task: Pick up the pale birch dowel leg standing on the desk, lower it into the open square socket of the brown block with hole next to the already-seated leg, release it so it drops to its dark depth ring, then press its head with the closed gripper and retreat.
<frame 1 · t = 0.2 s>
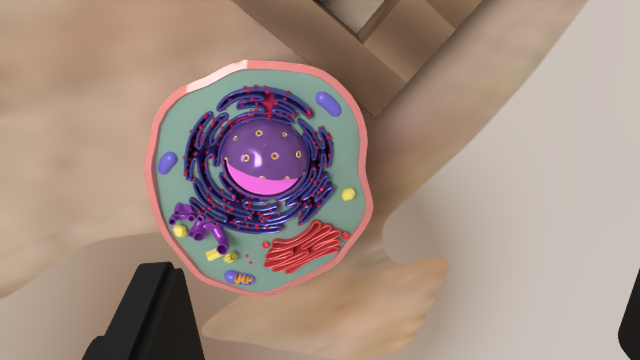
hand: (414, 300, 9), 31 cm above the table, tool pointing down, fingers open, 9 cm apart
cell model: (268, 148, 41), on the table
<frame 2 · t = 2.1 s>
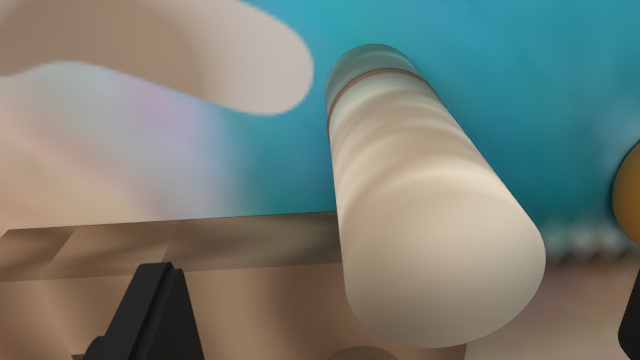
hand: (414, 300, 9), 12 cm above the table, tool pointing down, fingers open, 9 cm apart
birch leg: (371, 91, 20), on the table
brown block with hole: (248, 320, 26), on the table
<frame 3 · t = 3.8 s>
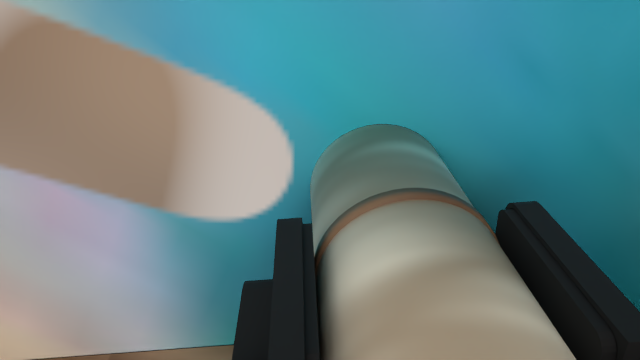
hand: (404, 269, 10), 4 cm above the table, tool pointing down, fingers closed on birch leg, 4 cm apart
birch leg: (377, 187, 14), on the table, touching gripper
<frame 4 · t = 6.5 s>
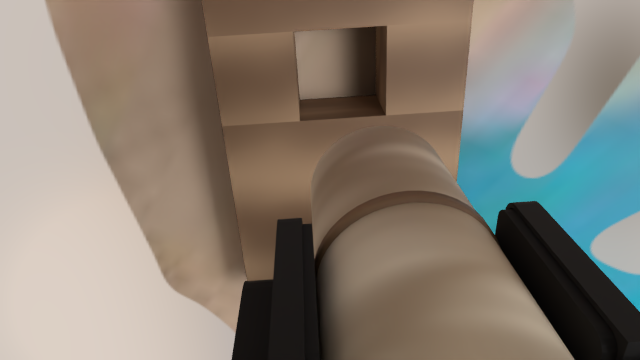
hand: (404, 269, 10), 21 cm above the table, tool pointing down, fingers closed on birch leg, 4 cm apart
birch leg: (377, 189, 14), point 17 cm above the table, touching gripper
brown block with hole: (339, 133, 31), on the table
when the fingers open (5 cm above the table, at t = 9.4 s): birch leg drops 1 cm, resting in brown block with hole.
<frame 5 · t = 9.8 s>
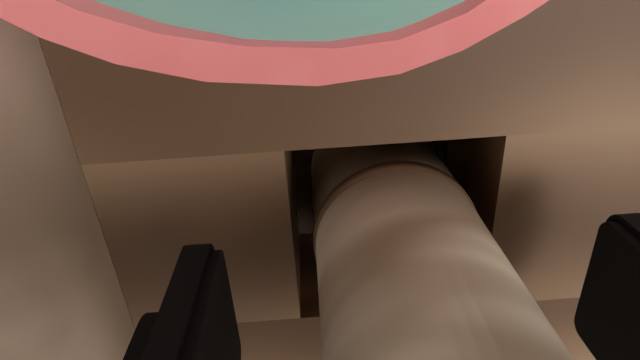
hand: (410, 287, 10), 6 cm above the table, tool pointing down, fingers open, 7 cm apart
birch leg: (372, 168, 15), resting in brown block with hole
brown block with hole: (370, 285, 17), on the table
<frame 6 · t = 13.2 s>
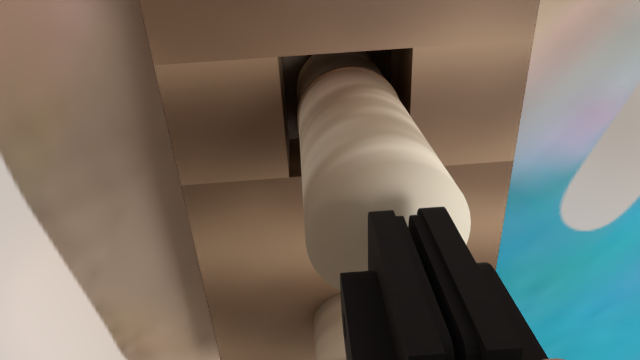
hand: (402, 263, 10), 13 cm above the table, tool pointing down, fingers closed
birch leg: (339, 88, 22), resting in brown block with hole
brown block with hole: (341, 180, 24), on the table
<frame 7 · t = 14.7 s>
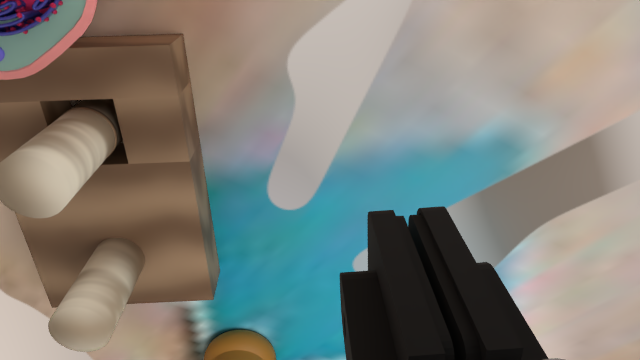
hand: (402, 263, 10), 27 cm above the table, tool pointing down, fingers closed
ornamental finial: (241, 349, 49), on the table
birch leg: (107, 115, 36), resting in brown block with hole
brown block with hole: (120, 171, 39), on the table
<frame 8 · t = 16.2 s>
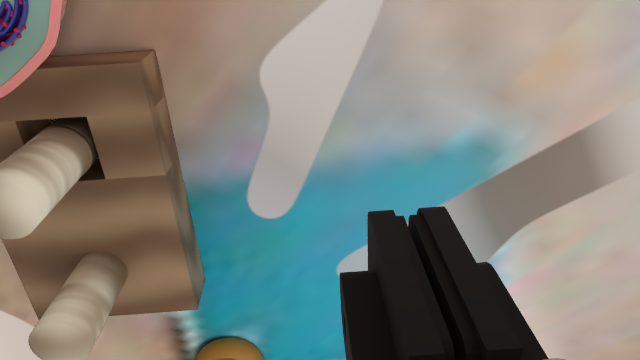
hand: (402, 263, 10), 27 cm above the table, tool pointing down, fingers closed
ornamental finial: (231, 356, 50), on the table
birch leg: (85, 132, 37), resting in brown block with hole
brown block with hole: (101, 185, 39), on the table
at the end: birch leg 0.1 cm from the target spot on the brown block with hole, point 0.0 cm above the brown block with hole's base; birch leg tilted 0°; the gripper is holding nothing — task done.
